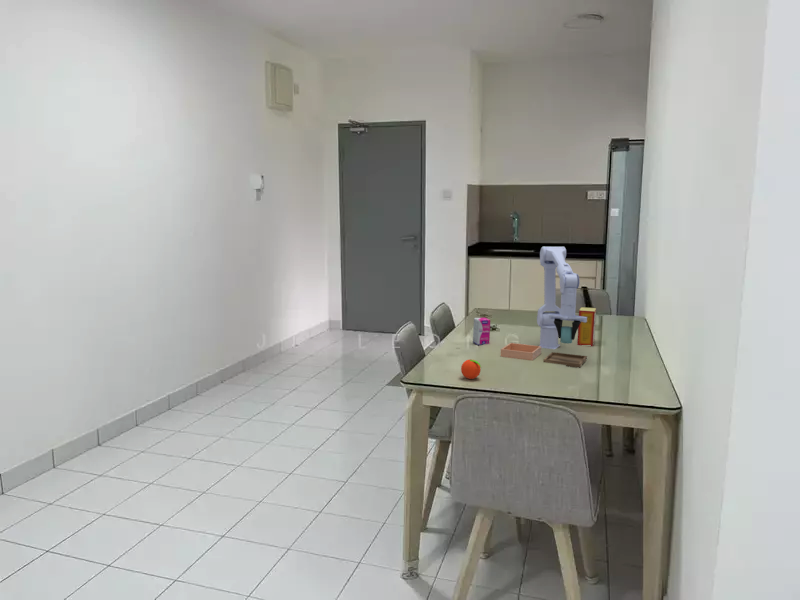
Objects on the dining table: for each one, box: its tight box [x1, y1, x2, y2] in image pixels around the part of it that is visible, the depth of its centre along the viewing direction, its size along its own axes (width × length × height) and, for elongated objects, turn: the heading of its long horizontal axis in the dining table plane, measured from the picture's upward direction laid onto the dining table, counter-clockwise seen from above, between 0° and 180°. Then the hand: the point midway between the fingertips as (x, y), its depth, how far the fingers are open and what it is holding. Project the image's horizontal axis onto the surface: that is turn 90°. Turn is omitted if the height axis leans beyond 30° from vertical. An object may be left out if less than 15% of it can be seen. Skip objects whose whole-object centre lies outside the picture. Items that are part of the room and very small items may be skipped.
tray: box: [542, 351, 588, 368], centre depth 242 cm, size 14×14×2 cm
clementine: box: [460, 359, 482, 380], centre depth 216 cm, size 8×7×7 cm
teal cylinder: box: [559, 325, 573, 345], centre depth 240 cm, size 4×4×6 cm
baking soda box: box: [576, 306, 597, 347], centre depth 273 cm, size 10×6×16 cm
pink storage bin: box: [500, 342, 542, 361], centre depth 250 cm, size 13×13×4 cm
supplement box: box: [472, 317, 491, 346], centre depth 271 cm, size 6×6×12 cm
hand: (566, 338), depth 240 cm, fingers closed on teal cylinder, 4 cm apart
